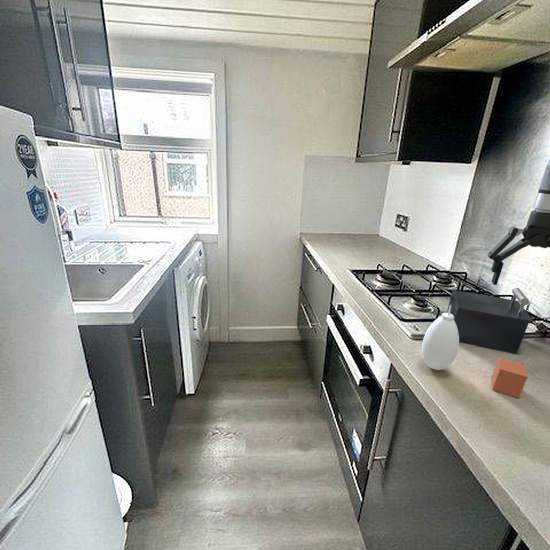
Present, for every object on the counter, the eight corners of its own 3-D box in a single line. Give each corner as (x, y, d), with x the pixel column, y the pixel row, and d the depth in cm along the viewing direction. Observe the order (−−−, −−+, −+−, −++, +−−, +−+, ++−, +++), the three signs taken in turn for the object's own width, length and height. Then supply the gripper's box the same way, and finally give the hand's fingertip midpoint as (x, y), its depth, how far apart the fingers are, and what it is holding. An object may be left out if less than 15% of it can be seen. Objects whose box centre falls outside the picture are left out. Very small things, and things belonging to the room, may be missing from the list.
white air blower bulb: (447, 361, 80) (465, 300, 74) (454, 380, 73) (474, 315, 67) (415, 355, 82) (430, 295, 76) (419, 373, 75) (435, 309, 69)
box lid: (517, 303, 92) (523, 285, 90) (532, 324, 80) (540, 304, 78) (452, 292, 98) (456, 275, 96) (457, 310, 87) (462, 291, 84)
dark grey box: (504, 330, 96) (513, 302, 92) (516, 354, 84) (528, 323, 81) (444, 319, 102) (451, 292, 98) (449, 339, 90) (457, 310, 87)
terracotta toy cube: (516, 385, 72) (524, 364, 70) (518, 398, 68) (527, 377, 66) (491, 377, 75) (498, 357, 72) (492, 389, 71) (500, 368, 68)
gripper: (606, 214, 75) (573, 291, 83) (489, 205, 84) (469, 275, 92) (624, 219, 69) (586, 302, 77) (496, 208, 78) (473, 284, 86)
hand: (522, 287), depth 84 cm, fingers open, 13 cm apart
